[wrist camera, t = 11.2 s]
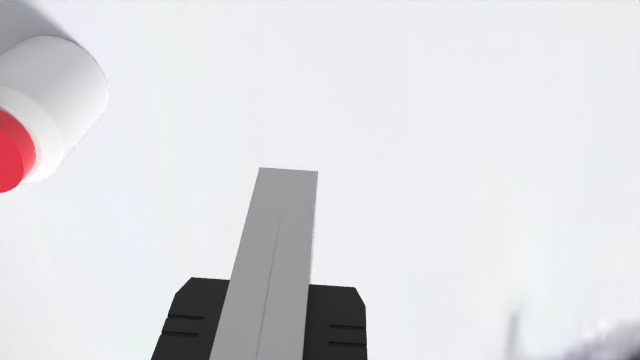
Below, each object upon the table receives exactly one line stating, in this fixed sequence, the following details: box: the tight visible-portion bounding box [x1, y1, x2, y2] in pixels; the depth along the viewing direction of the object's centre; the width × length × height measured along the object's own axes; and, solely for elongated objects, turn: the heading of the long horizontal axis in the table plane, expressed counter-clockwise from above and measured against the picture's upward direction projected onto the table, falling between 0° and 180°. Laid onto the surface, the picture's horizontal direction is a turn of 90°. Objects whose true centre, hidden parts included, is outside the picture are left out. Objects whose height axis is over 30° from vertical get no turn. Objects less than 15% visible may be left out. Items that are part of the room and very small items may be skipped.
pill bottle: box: [0, 35, 110, 193], centre depth 37 cm, size 8×8×11 cm
